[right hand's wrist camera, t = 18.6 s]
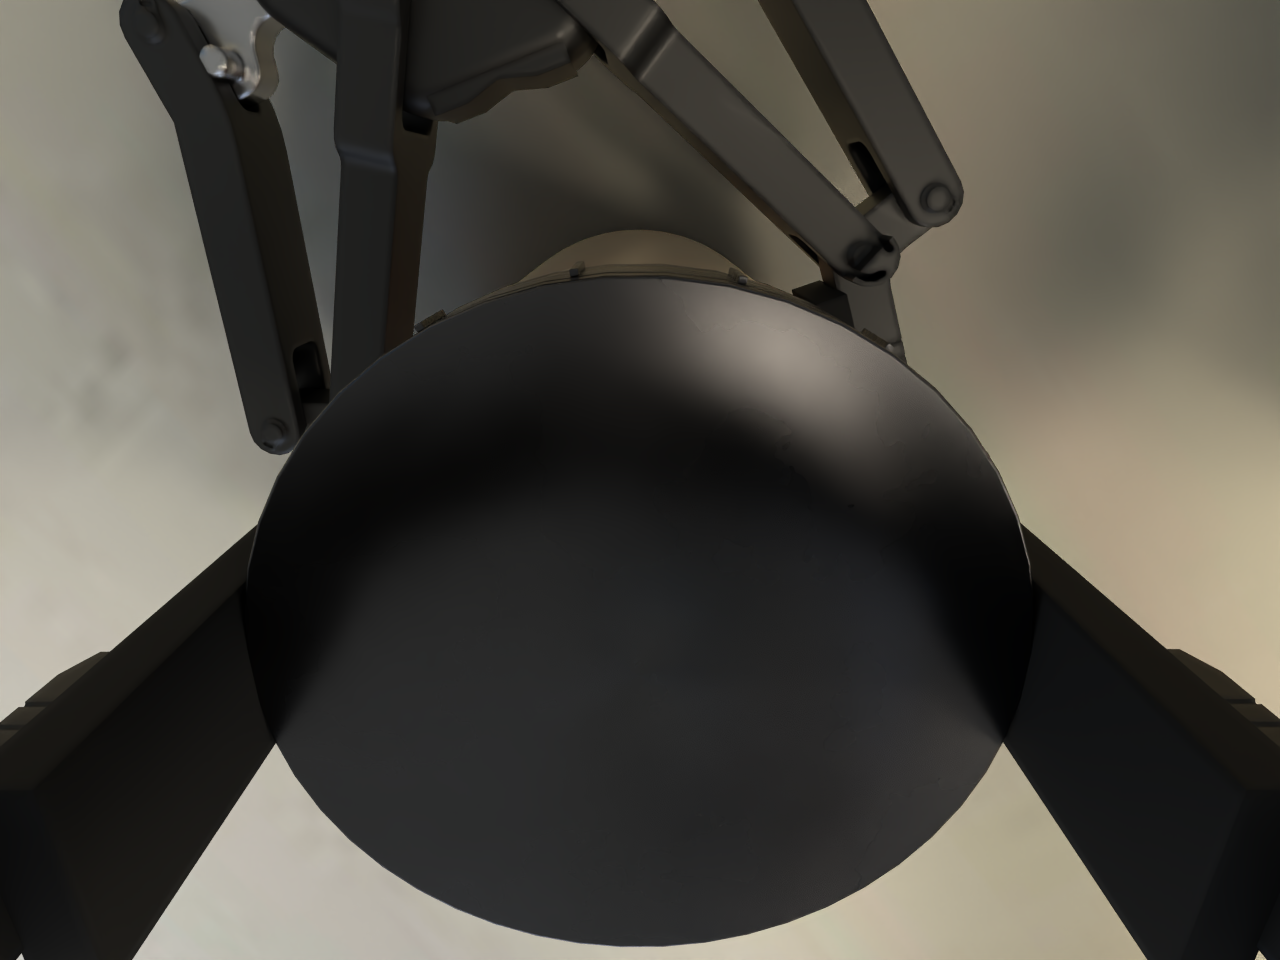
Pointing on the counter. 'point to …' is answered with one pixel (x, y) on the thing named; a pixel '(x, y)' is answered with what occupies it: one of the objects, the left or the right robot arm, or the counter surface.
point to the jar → (635, 252)
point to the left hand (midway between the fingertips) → (686, 577)
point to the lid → (639, 607)
